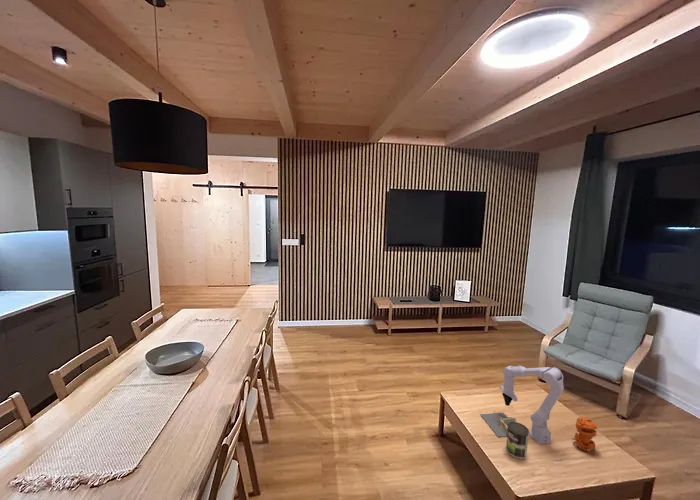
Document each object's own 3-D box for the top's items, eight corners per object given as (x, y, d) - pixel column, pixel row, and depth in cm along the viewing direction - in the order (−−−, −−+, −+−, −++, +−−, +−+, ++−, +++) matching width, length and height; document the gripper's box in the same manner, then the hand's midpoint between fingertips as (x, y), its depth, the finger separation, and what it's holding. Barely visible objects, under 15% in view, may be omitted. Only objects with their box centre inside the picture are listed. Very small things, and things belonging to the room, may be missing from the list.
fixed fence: (510, 435, 180) (510, 427, 179) (507, 435, 180) (508, 427, 179) (500, 424, 189) (501, 416, 189) (498, 424, 189) (498, 416, 188)
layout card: (523, 435, 180) (523, 434, 180) (498, 437, 179) (498, 436, 179) (503, 413, 200) (503, 412, 200) (480, 415, 199) (480, 414, 199)
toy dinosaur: (586, 456, 165) (589, 426, 163) (567, 442, 175) (570, 413, 173) (601, 452, 168) (605, 422, 166) (582, 438, 178) (584, 409, 176)
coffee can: (517, 461, 162) (519, 436, 160) (501, 447, 171) (503, 424, 170) (531, 455, 165) (533, 432, 164) (515, 442, 175) (517, 419, 173)
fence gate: (502, 425, 188) (503, 419, 187) (501, 423, 189) (501, 418, 189) (515, 424, 189) (516, 419, 188) (514, 422, 190) (515, 417, 189)
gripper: (522, 391, 186) (521, 411, 187) (507, 378, 200) (505, 397, 202) (511, 392, 185) (510, 412, 186) (497, 379, 199) (496, 398, 201)
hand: (507, 405), depth 194 cm, fingers closed
